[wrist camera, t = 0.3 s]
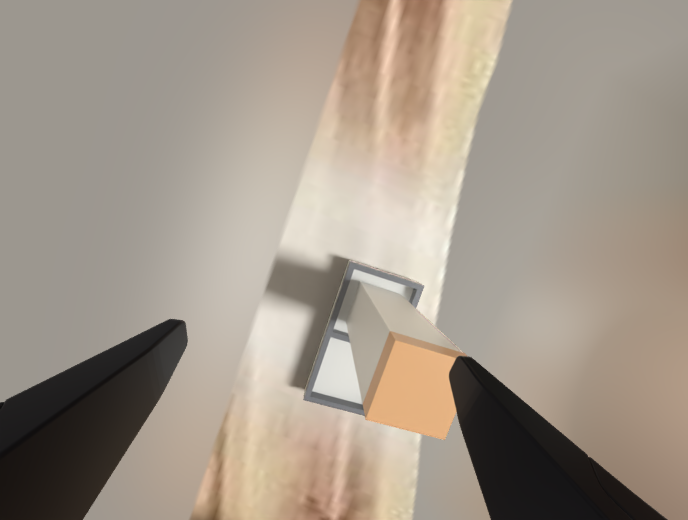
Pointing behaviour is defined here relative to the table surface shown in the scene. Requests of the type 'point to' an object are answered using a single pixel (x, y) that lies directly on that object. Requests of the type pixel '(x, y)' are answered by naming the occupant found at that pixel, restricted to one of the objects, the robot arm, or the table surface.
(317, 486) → the table surface
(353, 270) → the organiser
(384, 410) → the block
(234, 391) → the table surface
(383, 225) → the table surface
